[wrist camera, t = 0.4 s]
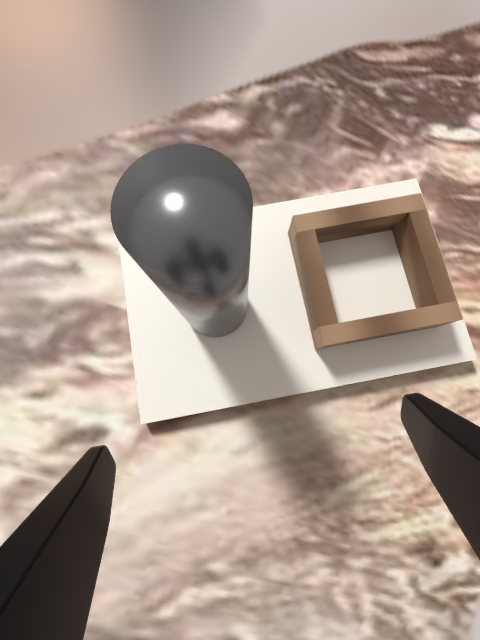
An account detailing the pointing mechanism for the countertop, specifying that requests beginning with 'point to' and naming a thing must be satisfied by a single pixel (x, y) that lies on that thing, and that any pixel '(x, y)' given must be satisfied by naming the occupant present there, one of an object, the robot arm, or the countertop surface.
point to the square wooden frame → (416, 256)
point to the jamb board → (283, 321)
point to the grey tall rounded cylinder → (189, 231)
